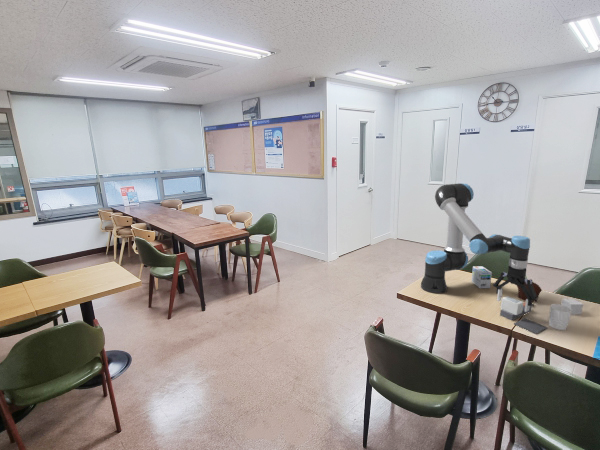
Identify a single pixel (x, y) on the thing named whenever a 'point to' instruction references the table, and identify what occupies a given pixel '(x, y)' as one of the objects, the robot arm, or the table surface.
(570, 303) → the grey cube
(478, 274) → the light bulb box
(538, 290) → the muffin
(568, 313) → the white cup
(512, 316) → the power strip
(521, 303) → the block
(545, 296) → the table surface
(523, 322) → the mat
